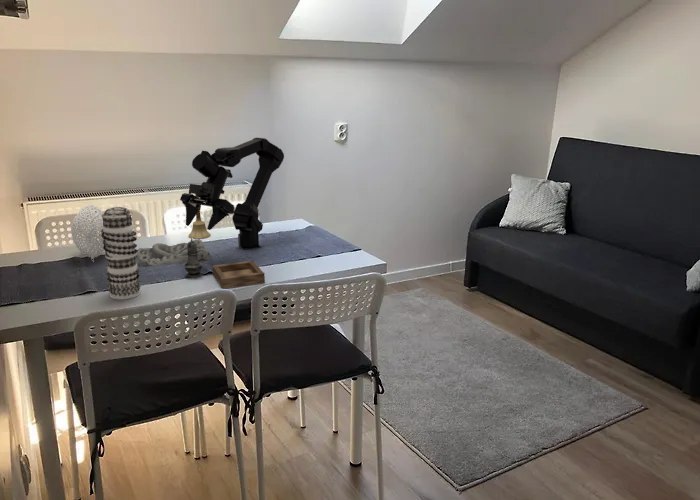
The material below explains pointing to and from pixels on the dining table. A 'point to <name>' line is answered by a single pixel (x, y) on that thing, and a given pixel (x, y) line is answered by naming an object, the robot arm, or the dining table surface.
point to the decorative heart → (88, 231)
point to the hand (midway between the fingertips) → (197, 227)
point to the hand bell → (199, 228)
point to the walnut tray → (238, 274)
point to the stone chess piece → (193, 261)
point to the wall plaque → (169, 254)
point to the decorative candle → (120, 253)
